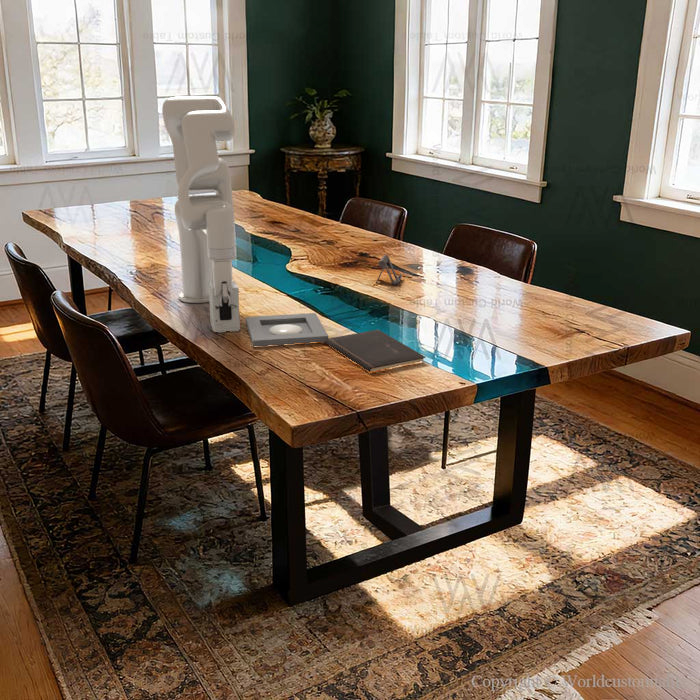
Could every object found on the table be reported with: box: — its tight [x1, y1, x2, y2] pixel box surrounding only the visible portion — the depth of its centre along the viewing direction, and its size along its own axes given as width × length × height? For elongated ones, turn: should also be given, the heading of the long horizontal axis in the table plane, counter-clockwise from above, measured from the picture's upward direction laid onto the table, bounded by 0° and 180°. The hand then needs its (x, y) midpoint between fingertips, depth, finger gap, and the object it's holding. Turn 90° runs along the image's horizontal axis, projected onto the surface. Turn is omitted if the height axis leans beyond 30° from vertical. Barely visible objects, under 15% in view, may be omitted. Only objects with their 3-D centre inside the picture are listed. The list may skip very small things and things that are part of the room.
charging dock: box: [245, 312, 329, 348], centre depth 217 cm, size 20×20×2 cm
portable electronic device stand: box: [375, 254, 403, 287], centre depth 266 cm, size 9×8×8 cm
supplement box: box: [209, 280, 241, 333], centre depth 219 cm, size 7×7×13 cm
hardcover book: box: [325, 329, 426, 372], centre depth 203 cm, size 16×23×2 cm
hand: (224, 314), depth 219 cm, fingers closed on supplement box, 7 cm apart
